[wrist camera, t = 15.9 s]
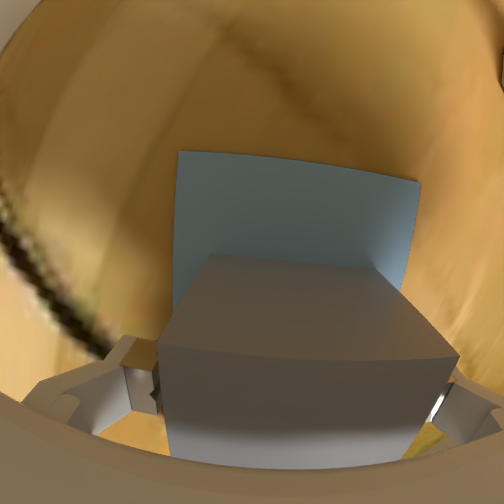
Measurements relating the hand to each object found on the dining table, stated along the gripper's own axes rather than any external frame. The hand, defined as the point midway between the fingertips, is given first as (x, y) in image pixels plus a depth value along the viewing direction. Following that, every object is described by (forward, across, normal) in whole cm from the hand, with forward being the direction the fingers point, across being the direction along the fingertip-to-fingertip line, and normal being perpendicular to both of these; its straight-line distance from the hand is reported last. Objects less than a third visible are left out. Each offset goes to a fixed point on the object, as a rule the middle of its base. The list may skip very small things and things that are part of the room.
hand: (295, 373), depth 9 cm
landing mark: (+4, 0, 0) cm, 4 cm away
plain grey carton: (+4, 0, -2) cm, 5 cm away
